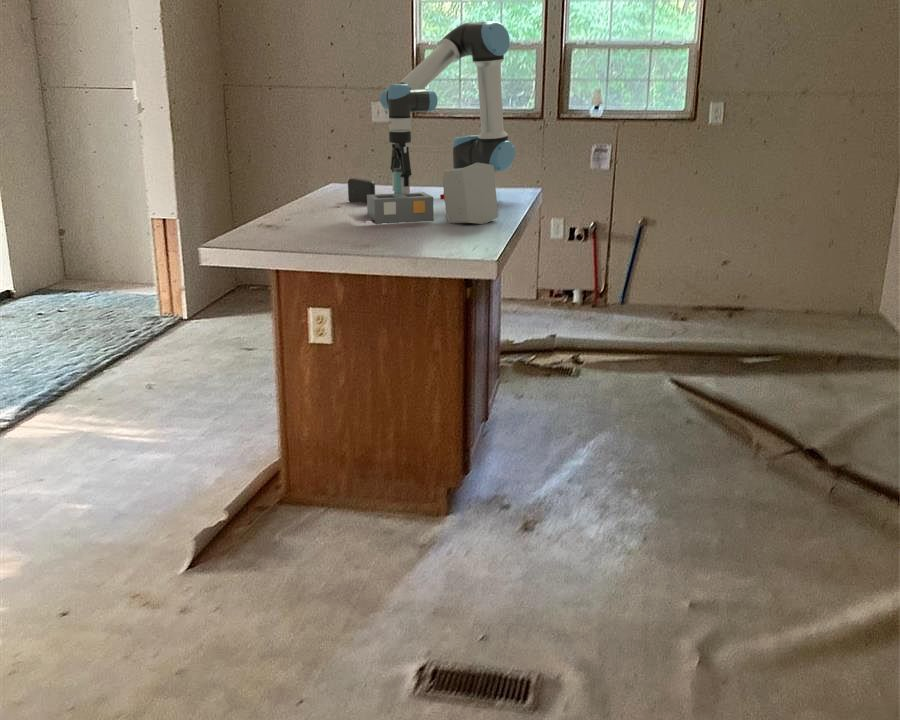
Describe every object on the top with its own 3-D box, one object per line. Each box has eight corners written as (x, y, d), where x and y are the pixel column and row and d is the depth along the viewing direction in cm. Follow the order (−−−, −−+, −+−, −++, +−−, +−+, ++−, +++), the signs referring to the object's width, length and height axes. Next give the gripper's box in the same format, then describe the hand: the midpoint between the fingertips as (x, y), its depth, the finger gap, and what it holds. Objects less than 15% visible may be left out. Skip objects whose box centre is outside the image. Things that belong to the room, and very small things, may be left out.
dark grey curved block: (382, 207, 328) (381, 181, 325) (371, 208, 326) (371, 182, 323) (357, 202, 340) (356, 177, 337) (347, 203, 338) (346, 178, 334)
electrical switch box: (467, 222, 309) (461, 164, 305) (498, 221, 298) (493, 160, 294) (437, 227, 299) (430, 167, 295) (468, 226, 289) (462, 164, 285)
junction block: (423, 215, 310) (423, 192, 308) (433, 221, 299) (433, 197, 296) (367, 218, 305) (366, 194, 302) (375, 224, 293) (374, 199, 291)
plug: (405, 207, 318) (404, 167, 313) (408, 209, 314) (407, 168, 310) (394, 207, 317) (393, 167, 312) (397, 209, 313) (396, 169, 308)
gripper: (381, 128, 317) (382, 189, 324) (397, 133, 295) (399, 198, 301) (401, 128, 319) (402, 188, 326) (419, 133, 297) (420, 197, 304)
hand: (401, 193), depth 314 cm, fingers open, 12 cm apart
